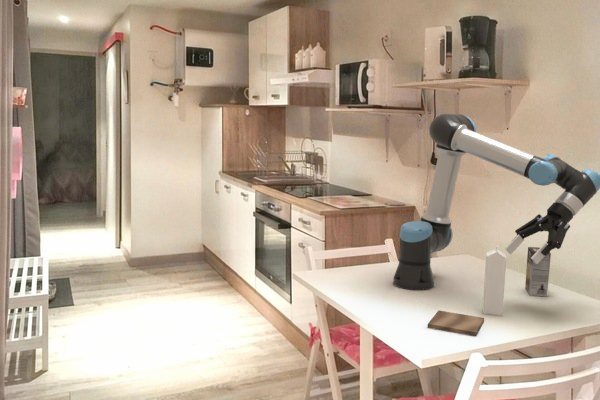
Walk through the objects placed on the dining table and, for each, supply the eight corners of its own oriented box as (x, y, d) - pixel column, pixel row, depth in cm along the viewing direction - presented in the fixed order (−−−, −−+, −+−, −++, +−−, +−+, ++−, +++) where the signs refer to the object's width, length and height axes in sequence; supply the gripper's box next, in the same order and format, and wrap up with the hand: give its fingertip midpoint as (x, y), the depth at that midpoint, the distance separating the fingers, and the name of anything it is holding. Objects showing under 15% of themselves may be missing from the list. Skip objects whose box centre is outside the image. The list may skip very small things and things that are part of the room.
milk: (482, 313, 179) (486, 246, 176) (482, 308, 185) (486, 242, 182) (502, 316, 177) (507, 248, 174) (502, 310, 183) (506, 244, 180)
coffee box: (524, 288, 209) (527, 246, 206) (542, 289, 207) (545, 247, 205) (529, 295, 200) (532, 251, 198) (548, 297, 198) (551, 252, 196)
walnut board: (427, 327, 165) (427, 323, 165) (438, 313, 178) (438, 310, 178) (476, 336, 159) (476, 332, 159) (483, 321, 172) (484, 317, 171)
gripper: (599, 223, 170) (553, 273, 169) (545, 211, 194) (504, 255, 193) (585, 206, 168) (539, 257, 167) (533, 196, 192) (491, 240, 191)
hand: (520, 256), depth 180 cm, fingers open, 13 cm apart
